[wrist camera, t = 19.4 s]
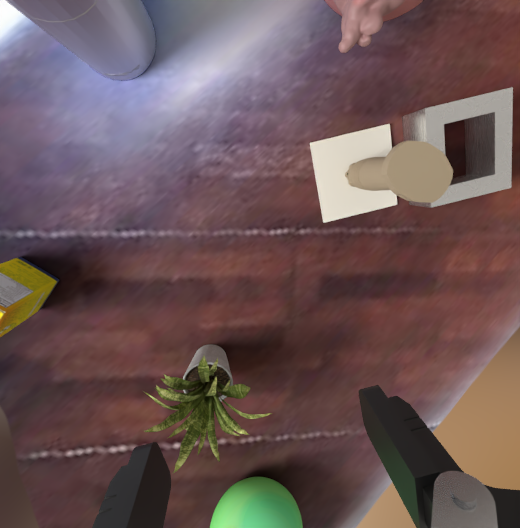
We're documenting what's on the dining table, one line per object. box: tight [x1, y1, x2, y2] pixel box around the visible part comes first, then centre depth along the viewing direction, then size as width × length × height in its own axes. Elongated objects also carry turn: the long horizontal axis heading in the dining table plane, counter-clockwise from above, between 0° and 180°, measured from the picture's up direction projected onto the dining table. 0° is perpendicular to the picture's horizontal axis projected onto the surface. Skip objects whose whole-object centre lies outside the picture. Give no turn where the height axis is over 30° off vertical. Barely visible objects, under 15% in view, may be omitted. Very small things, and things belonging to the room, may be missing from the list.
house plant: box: [145, 344, 272, 473], centre depth 40 cm, size 14×14×16 cm
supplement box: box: [0, 257, 59, 337], centre depth 37 cm, size 6×6×11 cm
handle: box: [345, 141, 453, 203], centre depth 34 cm, size 5×6×15 cm
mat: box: [310, 124, 397, 223], centre depth 42 cm, size 11×11×1 cm
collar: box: [402, 87, 513, 208], centre depth 40 cm, size 12×11×5 cm
